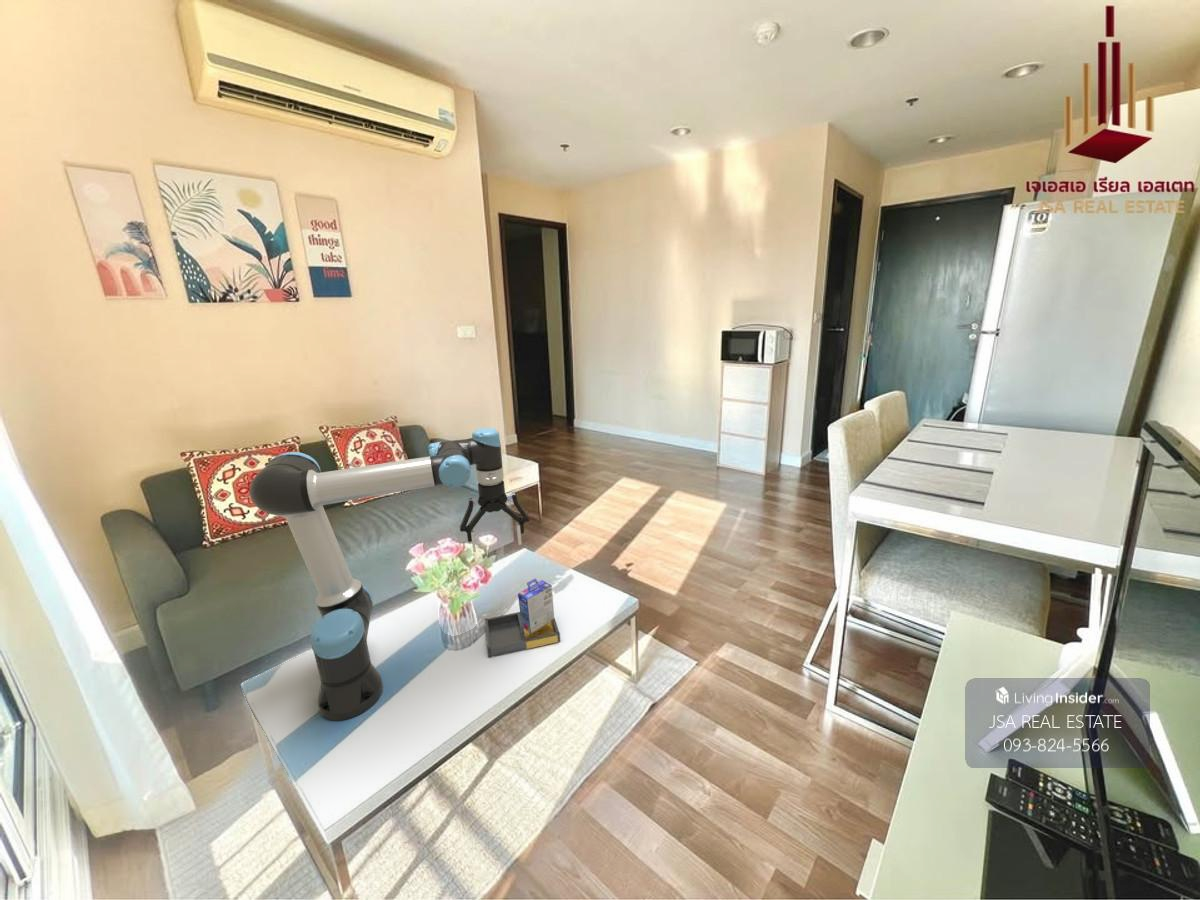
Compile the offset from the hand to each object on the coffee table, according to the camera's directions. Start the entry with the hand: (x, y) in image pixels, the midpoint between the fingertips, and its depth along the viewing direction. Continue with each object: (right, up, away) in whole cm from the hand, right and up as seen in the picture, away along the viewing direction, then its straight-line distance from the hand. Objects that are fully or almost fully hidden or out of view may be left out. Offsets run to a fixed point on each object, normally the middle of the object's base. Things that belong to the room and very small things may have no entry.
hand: (497, 546), depth 141 cm
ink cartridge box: (+12, -25, +5) cm, 28 cm away
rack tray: (+7, -28, +5) cm, 30 cm away
